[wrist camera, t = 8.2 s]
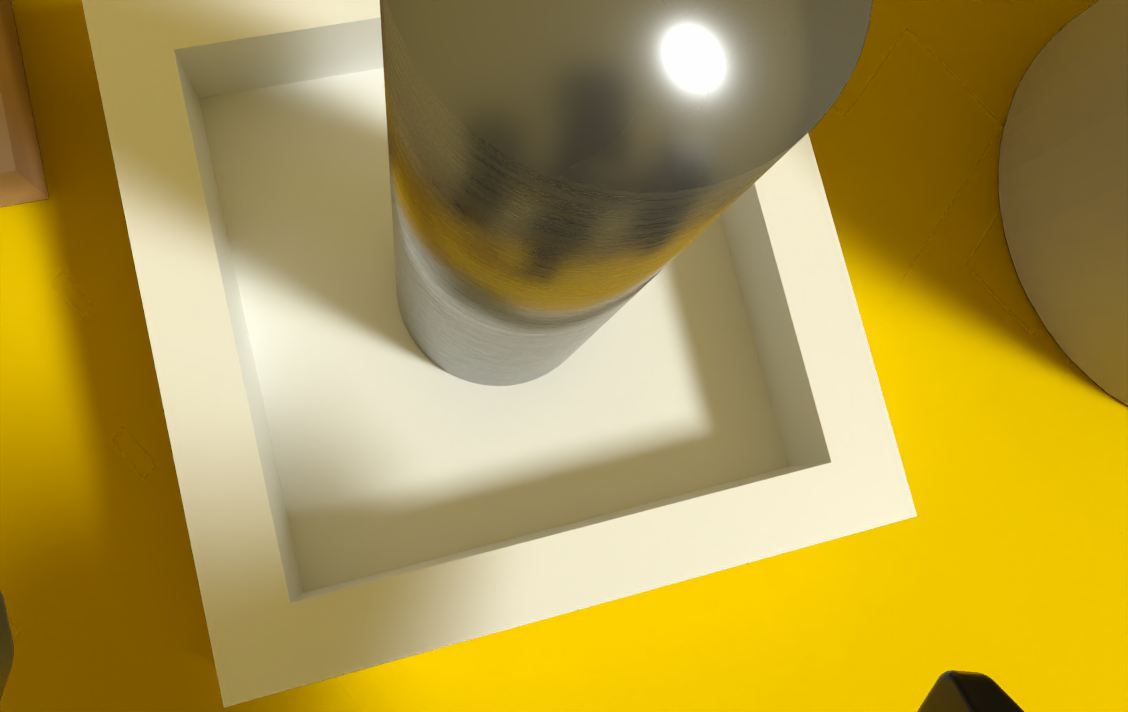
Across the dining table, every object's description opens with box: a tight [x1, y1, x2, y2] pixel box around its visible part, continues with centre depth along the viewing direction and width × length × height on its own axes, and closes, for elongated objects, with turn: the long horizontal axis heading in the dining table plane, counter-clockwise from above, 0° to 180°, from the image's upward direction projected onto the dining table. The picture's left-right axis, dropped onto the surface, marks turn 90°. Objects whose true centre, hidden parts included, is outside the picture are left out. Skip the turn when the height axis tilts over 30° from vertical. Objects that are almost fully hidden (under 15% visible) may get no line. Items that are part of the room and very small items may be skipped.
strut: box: [380, 0, 873, 386], centre depth 12 cm, size 4×4×11 cm
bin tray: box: [82, 0, 917, 708], centre depth 17 cm, size 11×11×2 cm
